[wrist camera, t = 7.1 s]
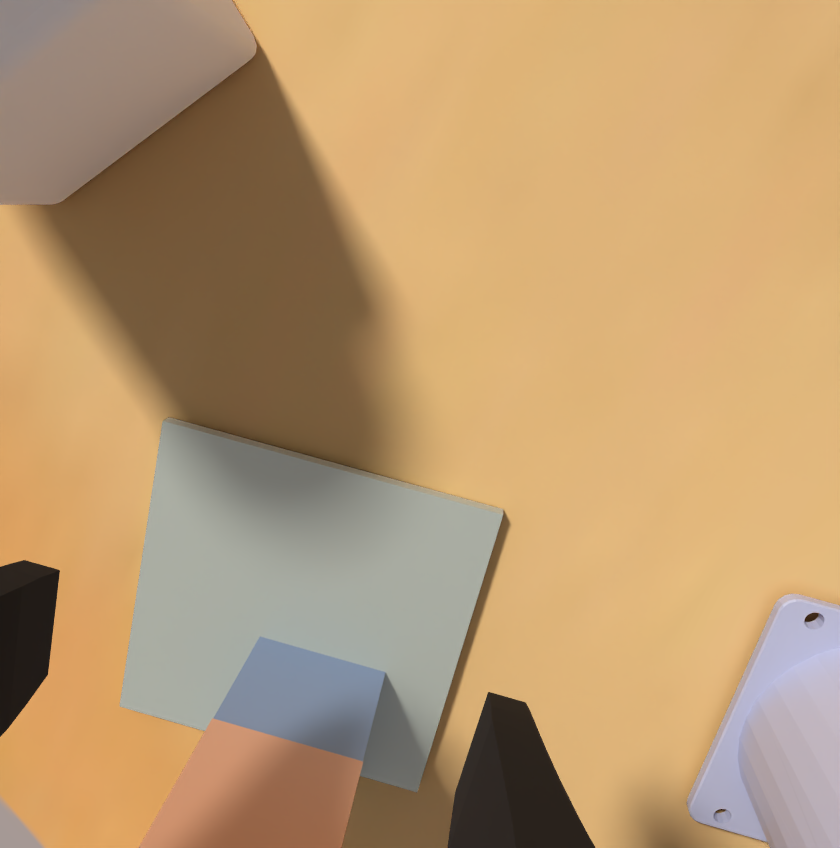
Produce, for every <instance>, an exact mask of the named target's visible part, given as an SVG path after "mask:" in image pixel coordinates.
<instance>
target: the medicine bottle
mask: <svg viewBox="0 0 840 848" xmlns="http://www.w3.org/2000/svg"><path fill="white" fill-rule="evenodd" d="M256 49H257V45H256V42H255V39H254V36H253V34H252V33H251V31H250V29H249V28H248V26H247V24H246V23H245V21H244V19H243V18H242V16H241V14H240V13H239V11H238V10H237V8H236V6H235V5H234V3H233V1H232V0H0V205H54V204H57V203H60V202H62V201H63V200H65V199H66V198H67V197H69V196H70V195H71V194H73V193H74V192H75V191H77V190H78V189H79V188H81V187H82V186H83V185H84V184H86V183H87V182H88V181H90V180H91V179H92V178H94V177H95V176H96V175H98V174H99V173H100V172H102V171H103V170H104V169H106V168H107V167H108V166H110V165H111V164H112V163H114V162H115V161H116V160H118V159H119V158H120V157H122V156H123V155H124V154H126V153H127V152H128V151H130V150H131V149H132V148H134V147H135V146H136V145H138V144H139V143H140V142H142V141H143V140H144V139H146V138H147V137H148V136H150V135H151V134H152V133H154V132H155V131H156V130H158V129H159V128H160V127H162V126H163V125H164V124H166V123H167V122H168V121H170V120H171V119H172V118H174V117H175V116H176V115H178V114H179V113H180V112H182V111H183V110H184V109H186V108H187V107H188V106H190V105H191V104H192V103H194V102H195V101H196V100H198V99H199V98H200V97H202V96H203V95H204V94H206V93H207V92H208V91H210V90H211V89H212V88H214V87H215V86H216V85H218V84H219V83H220V82H222V81H223V80H224V79H226V78H227V77H228V76H230V75H231V74H232V73H234V72H235V71H236V70H238V69H239V68H240V67H242V66H243V65H244V64H246V63H247V62H248V61H250V60H251V59H252V58H253V56H254V55H255V54H256Z"/></svg>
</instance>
